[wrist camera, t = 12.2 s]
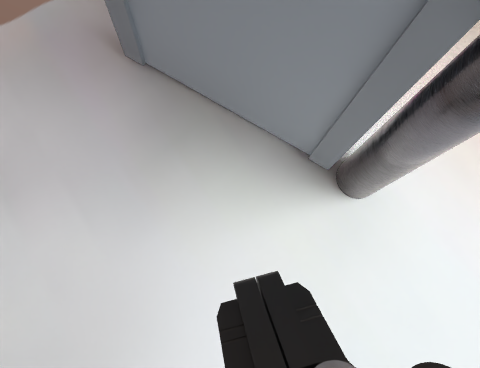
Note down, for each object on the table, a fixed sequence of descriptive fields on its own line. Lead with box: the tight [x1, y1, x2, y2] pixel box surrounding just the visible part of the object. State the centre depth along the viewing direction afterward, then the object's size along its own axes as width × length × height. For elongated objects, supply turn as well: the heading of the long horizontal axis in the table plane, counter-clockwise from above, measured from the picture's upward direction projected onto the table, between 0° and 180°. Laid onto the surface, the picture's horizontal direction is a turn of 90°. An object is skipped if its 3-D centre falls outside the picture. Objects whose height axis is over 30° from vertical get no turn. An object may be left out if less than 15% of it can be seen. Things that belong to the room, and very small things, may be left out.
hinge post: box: [336, 35, 480, 199], centre depth 17 cm, size 3×3×18 cm
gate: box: [105, 0, 480, 170], centre depth 18 cm, size 17×2×16 cm, turn 60°
